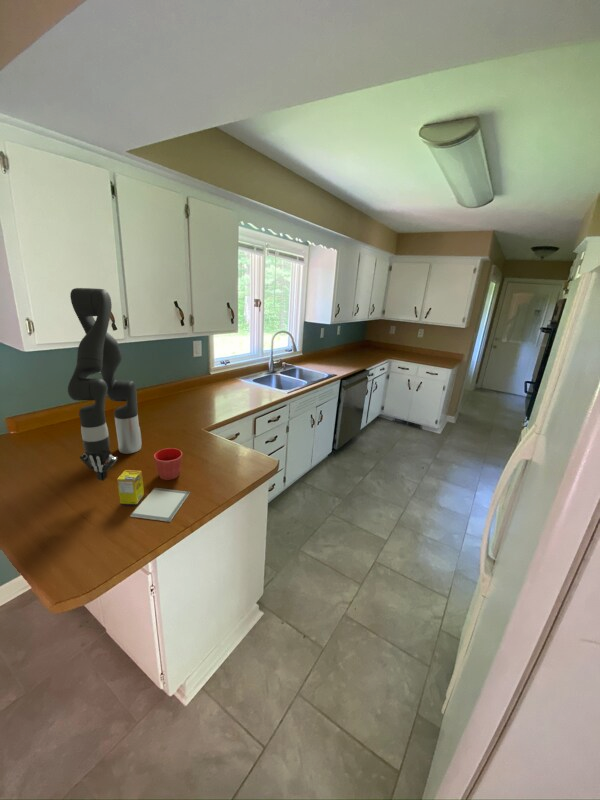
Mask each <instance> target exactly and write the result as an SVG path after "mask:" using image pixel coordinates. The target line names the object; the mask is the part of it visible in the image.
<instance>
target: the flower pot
mask: <svg viewBox="0 0 600 800" xmlns="http://www.w3.org/2000/svg"><path fill="white" fill-rule="evenodd" d="M153 456H154V457H153V458H154V462H155V463H154V464H155V466H156V470H157V473H158V476H159V478H160V479H162V480H165V481H168V480H174V479H175V478H178V477H179V475H180V473H181V472H180V471H181V468H182V467H181V466H182V460H183V452H182V450H180V449H178V448H175V447H168V448H167V447H166V448H163V449H160V450H158V451H157V452H155V453H154V455H153Z"/></svg>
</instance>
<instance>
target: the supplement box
mask: <svg viewBox="0 0 600 800" xmlns="http://www.w3.org/2000/svg"><path fill="white" fill-rule="evenodd" d="M143 479H144V478H143V473H142V470H135V469H134V470H132V469H125V470H123V472H122V473H121V474H120V475H119V476H118V478H117V479H116V483H117V490H118V496H119V504H120V505H121V506H132V507H133V506H136V507H138V506H139V505H140V503H141V502H142V501H143V498H144V497H145V491H144V490H145V489H144V480H143Z"/></svg>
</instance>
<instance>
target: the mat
mask: <svg viewBox="0 0 600 800" xmlns="http://www.w3.org/2000/svg"><path fill="white" fill-rule="evenodd" d="M190 494H191V492H190V491H184V490H177V489H167V488H161V487H154V488H153V489H152V490H151V491H150V493H149V494H147V496H146V497H145V498H144V499H143V500H142V501H141V502H140V503H139V504H138V505H137V506H136V507H135V510H134V511H133V512H131V514H130V517H132V518H137V519H138V518H139V519H146V520H152V521H161V522H167V523H171V522H172V520H173V519H174V517H175V516H176V514H177V512H179V510H180V508H182V505H183V504H184V502H185V501H186V500H187V499H188V497H189V495H190Z"/></svg>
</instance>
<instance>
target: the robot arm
mask: <svg viewBox="0 0 600 800" xmlns="http://www.w3.org/2000/svg"><path fill="white" fill-rule="evenodd" d="M69 294H70V295H69V297H70V303H71V305H72V308H73V311H74V312H75V315H76V317H77V318H78V320H79V323H80V325H81V327H82V328H83V330H84V333H85V335H84V336H83V337H82V339H81V340H80V342H79V343H78V348H77V357H76V364H75V369H74V370H73V374H72V376H71V378H70V380H69V382H68V386H67V394H68V396H69V397H70V398H71V400H73V401H78V402H80V401H94V403H92V404H89V405H85V406H82V407H80V409H79V410H78V412H79V413H78V415H79V420H80V433H81V437H82V438H81V439H82V445H83V450H84V453H83V454H82V455H80V456H79V459H80V460H81V462H83V464H85V466H86V467H87V468H89V470H94V472H95V474H96V478H97V481H99V482H104V481H105V480H106V479H107V477H108V473H107V471H108V470H110V469H111V468H112V467H113V466H114V465H115V464H116V462H117V461H118V459H119V457H118V456H113V455H112V452H111V450H110V447H111V441H110V434H109V428H108V425H107V420H106V414H105V413H106V412H105V409H106V408H105V406H106V405H105V404H106V400H107V398H108V399H109V400H110V401H111V402H112V401H113V402H126V404H124V405H121V406H118V407H117V408H115V409H114V411H113V414H114V415H113V416H114V423H115V429H116V430H115V431H116V439H117V445H118V452H119V453H121V454H124V455H125V454H126V455H127V454H128V455H129V454H133V453H137V452H138V451H140V450H141V449H142V446H143V445H142V434H141V427H140V424H139V423H140V422H139V412H138V393H137V384H136V382H135V381H133V380H124V379H123V380H120V379H119V380H118V379H116V378H115V374H116V371H117V369H118V368H119V367H120V365H121V363H122V359H123V354H122V351H121V349H120V345H119V343H118V341H117V340H116V338H114V336H113V335H111V334H110V333H109V332H108V328H109V325H110V320H111V314H112V304H113V303H112V299H111V296H110V294H109V292H108V291H107V290H106V289H103V288H90V287H88V288H87V287H84V288H83V287H76V288H73V289H71V291H70V293H69ZM94 317H96V319H95V318H94ZM98 373H100V374H101V377H102V378H97V377H95V378H87V377H89V376H91V375H95V374H98Z"/></svg>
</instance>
